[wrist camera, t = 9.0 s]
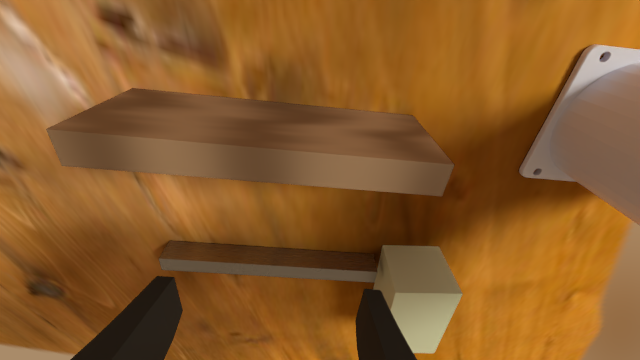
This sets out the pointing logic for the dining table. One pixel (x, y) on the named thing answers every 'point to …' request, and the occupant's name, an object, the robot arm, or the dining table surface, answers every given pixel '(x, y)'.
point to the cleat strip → (268, 261)
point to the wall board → (254, 142)
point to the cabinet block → (418, 292)
